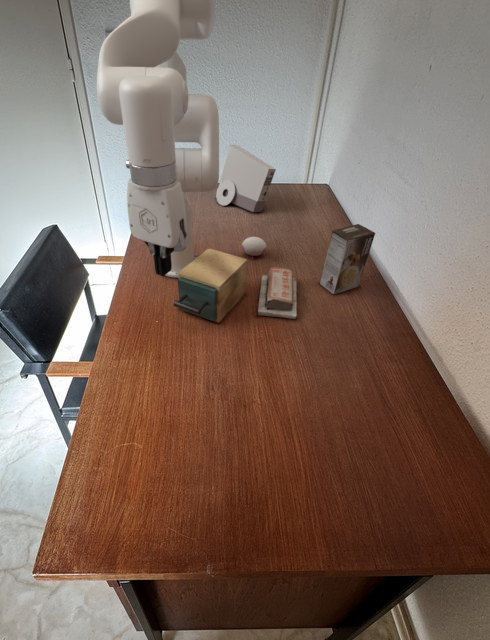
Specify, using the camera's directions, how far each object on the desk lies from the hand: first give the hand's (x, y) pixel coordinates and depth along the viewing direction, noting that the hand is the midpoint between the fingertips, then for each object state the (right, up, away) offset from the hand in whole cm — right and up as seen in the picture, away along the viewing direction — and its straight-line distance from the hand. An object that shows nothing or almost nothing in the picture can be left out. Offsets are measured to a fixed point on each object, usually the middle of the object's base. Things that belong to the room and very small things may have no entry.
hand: (163, 272), depth 74 cm
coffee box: (+46, +5, +32) cm, 56 cm away
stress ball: (+22, +18, +44) cm, 53 cm away
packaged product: (+27, 0, +27) cm, 39 cm away
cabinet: (+10, -1, +26) cm, 28 cm away
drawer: (+8, -3, +23) cm, 24 cm away
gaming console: (+20, +45, +71) cm, 86 cm away
